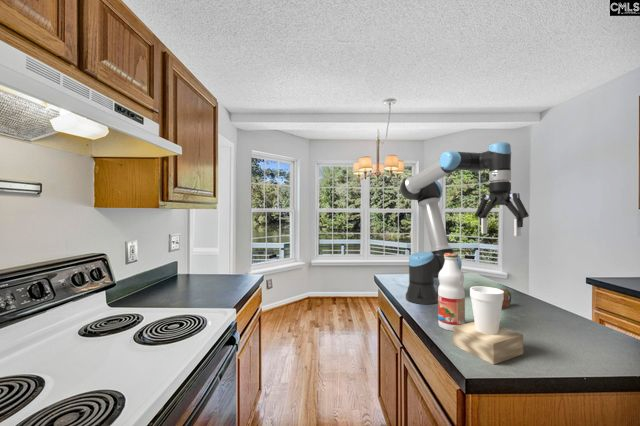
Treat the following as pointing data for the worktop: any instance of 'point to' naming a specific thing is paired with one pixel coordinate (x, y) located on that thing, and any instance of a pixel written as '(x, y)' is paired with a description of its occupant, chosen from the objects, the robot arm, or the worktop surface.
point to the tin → (506, 298)
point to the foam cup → (486, 308)
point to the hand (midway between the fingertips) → (500, 234)
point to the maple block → (488, 343)
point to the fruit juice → (451, 294)
